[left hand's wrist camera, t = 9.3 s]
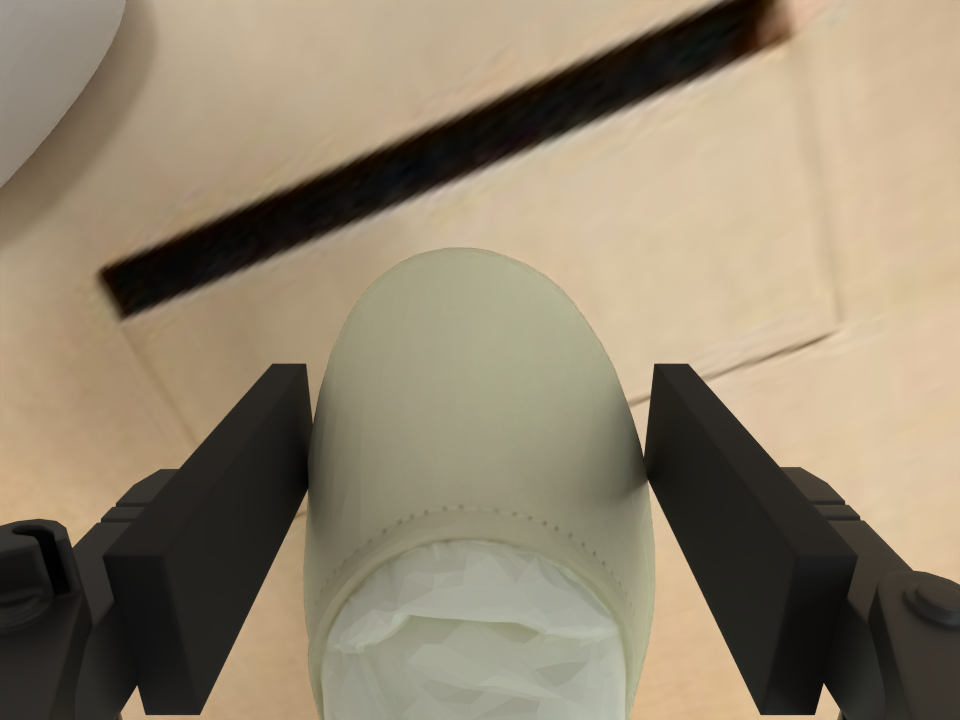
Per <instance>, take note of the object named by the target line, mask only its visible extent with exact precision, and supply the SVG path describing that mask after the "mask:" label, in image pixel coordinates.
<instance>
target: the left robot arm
mask: <svg viewBox="0 0 960 720" xmlns="http://www.w3.org/2000/svg"><path fill="white" fill-rule="evenodd" d="M312 428H313V422H312V413H311V404H310V395H309V386H308V377H307V368H306V364H272V365H271V366H270V367H269V368H268V369H267V371H266V372H265V373H264V374H263V375H262V376H261V377H260V378H259V380H258V381H257V382H256V383H255V384H254V385H253V386H252V387H251V389H250V390H249V391H248V392H247V393H246V394H245V395H244V396H243V398H242V399H241V400H240V401H239V402H238V403H237V404H236V405H235V407H234V408H233V409H232V410H231V411H230V412H229V413H228V414H227V416H226V417H225V418H224V419H223V420H222V421H221V422H220V423H219V425H218V426H217V427H216V428H215V429H214V430H213V431H212V433H211V434H210V435H209V436H208V437H207V438H206V439H205V440H204V442H203V443H202V444H201V445H200V446H199V447H198V448H197V449H196V451H195V452H194V453H193V454H192V455H191V456H190V457H189V458H188V460H187V461H186V462H185V463H184V464H183V465H182V466H181V467H180V469H160V470H158V471H157V472H155V473H153V474H152V475H150V476H148V477H147V478H145V479H143V480H141V481H140V482H138V483H136V484H135V485H133V486H132V487H131V488H130V489H129V490H128V492H127V493H126V494H125V495H124V496H123V497H122V498H121V499H120V500H119V501H118V502H117V503H116V507H112V508H111V509H110V510H109V511H108V512H107V513H106V514H105V515H104V516H103V517H102V518H101V522H100V523H96V524H95V525H94V526H93V527H92V528H91V529H90V530H89V532H88V533H87V534H86V535H85V536H84V537H83V538H82V539H81V540H80V541H79V542H78V543H77V544H76V545H75V546H74V547H73V548H72V546H71V543H70V539H69V536H68V533H67V529H66V527H64V526H63V525H61V524H60V523H58V522H57V521H52V520H44V519H34V520H25V521H16V522H13V523H9V524H6V525H2V526H0V720H123V719H122V716H121V713H120V712H121V711H122V709H123V707H124V706H125V704H126V703H127V701H128V699H129V698H130V696H131V694H132V693H133V691H134V690H135V688H136V686H137V685H138V689H139V692H140V696H141V700H142V703H143V707H144V711H145V714H146V715H200V713H201V711H202V709H203V707H204V705H205V703H206V701H207V699H208V697H209V695H210V693H211V690H212V688H213V686H214V684H215V682H216V680H217V678H218V676H219V674H220V672H221V670H222V668H223V665H224V663H225V661H226V659H227V657H228V655H229V653H230V651H231V649H232V647H233V645H234V642H235V640H236V638H237V636H238V634H239V632H240V630H241V628H242V626H243V624H244V622H245V619H246V617H247V615H248V613H249V611H250V609H251V607H252V605H253V603H254V601H255V599H256V596H257V594H258V592H259V590H260V588H261V586H262V584H263V582H264V580H265V578H266V576H267V574H268V571H269V569H270V567H271V565H272V563H273V561H274V559H275V557H276V555H277V553H278V551H279V548H280V546H281V544H282V542H283V540H284V538H285V536H286V534H287V532H288V530H289V528H290V525H291V523H292V521H293V519H294V517H295V515H296V513H297V511H298V509H299V507H300V505H301V502H302V500H303V498H304V496H305V494H306V492H307V490H308V455H309V448H310V441H311V434H312ZM644 461H645V466H646V470H647V479H648V481H649V483H650V485H651V487H652V489H653V491H654V493H655V495H656V497H657V499H658V502H659V504H660V506H661V508H662V510H663V512H664V514H665V516H666V518H667V520H668V522H669V525H670V527H671V529H672V531H673V533H674V535H675V537H676V539H677V541H678V543H679V545H680V548H681V550H682V552H683V554H684V556H685V558H686V560H687V562H688V564H689V566H690V568H691V570H692V573H693V575H694V577H695V579H696V581H697V583H698V585H699V587H700V589H701V591H702V593H703V596H704V598H705V600H706V602H707V604H708V606H709V608H710V610H711V612H712V614H713V616H714V619H715V621H716V623H717V625H718V627H719V629H720V631H721V633H722V635H723V637H724V639H725V641H726V644H727V646H728V648H729V650H730V652H731V654H732V656H733V658H734V660H735V662H736V664H737V667H738V669H739V671H740V673H741V675H742V677H743V679H744V681H745V683H746V685H747V687H748V690H749V692H750V694H751V696H752V698H753V700H754V702H755V704H756V706H757V708H758V710H759V712H760V715H815V713H816V709H817V705H818V702H819V698H820V694H821V691H822V687H823V683H824V684H825V686H826V687H827V689H828V690H829V692H830V694H831V695H832V697H833V698H834V700H835V702H836V703H837V705H838V707H839V708H840V713H839V716H838V719H837V720H960V585H959V584H957V583H955V582H953V581H951V580H949V579H946V578H943V577H939V576H936V575H933V574H930V573H927V572H920V571H913V570H912V569H911V568H910V567H909V566H908V565H907V564H906V563H905V562H904V561H903V560H902V559H901V558H900V557H899V556H898V555H897V554H896V553H895V552H894V551H893V550H892V548H891V547H890V546H889V545H888V544H887V543H886V542H885V541H884V540H883V539H882V538H881V537H880V536H879V535H878V534H877V533H876V532H875V531H874V530H873V529H872V528H871V527H870V526H869V525H868V524H867V523H866V522H865V521H861V520H860V516H859V515H858V514H857V513H856V512H855V511H854V510H853V509H852V508H851V507H850V506H849V505H845V501H844V500H843V499H842V498H841V497H840V496H839V495H838V494H837V492H836V491H835V490H834V489H833V488H832V487H831V486H830V485H829V484H828V483H826V482H825V481H823V480H821V479H820V478H818V477H816V476H814V475H813V474H811V473H809V472H808V471H806V470H804V469H802V468H801V467H779V466H778V465H777V463H776V462H775V461H774V460H773V459H772V458H771V457H770V456H769V454H768V453H767V452H766V451H765V450H764V449H763V448H762V447H761V445H760V444H759V443H758V442H757V441H756V440H755V439H754V438H753V436H752V435H751V434H750V433H749V432H748V431H747V430H746V429H745V427H744V426H743V425H742V424H741V423H740V422H739V421H738V420H737V418H736V417H735V416H734V415H733V414H732V413H731V412H730V411H729V409H728V408H727V407H726V406H725V405H724V404H723V403H722V402H721V400H720V399H719V398H718V397H717V396H716V395H715V394H714V393H713V391H712V390H711V389H710V388H709V387H708V386H707V385H706V384H705V382H704V381H703V380H702V379H701V378H700V377H699V376H698V374H697V373H696V372H695V371H694V370H693V369H692V368H691V367H690V365H689V364H654V372H653V381H652V390H651V399H650V408H649V417H648V426H647V435H646V444H645V453H644Z"/></svg>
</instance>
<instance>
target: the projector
mask: <svg viewBox="0 0 960 720" xmlns="http://www.w3.org/2000/svg"><path fill="white" fill-rule="evenodd" d="M125 5H126V0H0V188H1V187H2V186H3V185H4V184H5V183H6V182H7V181H8V180H9V179H10V178H11V177H12V176H13V175H14V173H15V172H16V171H17V170H18V169H19V168H20V167H21V166H22V165H23V164H24V163H25V162H26V160H27V159H28V158H29V157H30V156H31V155H32V154H33V153H34V152H35V150H36V149H37V148H38V147H39V146H40V144H41V143H42V142H43V141H44V140H45V138H46V137H47V136H48V135H49V134H50V132H51V131H52V130H53V129H54V128H55V126H56V125H57V124H58V123H59V121H60V120H61V119H62V117H63V116H64V115H65V113H66V112H67V111H68V109H69V108H70V107H71V105H72V104H73V103H74V102H75V100H76V99H77V98H78V96H79V95H80V94H81V92H82V91H83V89H84V88H85V86H86V85H87V83H88V82H89V80H90V79H91V77H92V76H93V74H94V73H95V71H96V70H97V68H98V67H99V65H100V63H101V61H102V60H103V58H104V56H105V54H106V53H107V51H108V49H109V47H110V46H111V44H112V42H113V39H114V37H115V35H116V32H117V30H118V28H119V26H120V23H121V21H122V17H123V13H124V10H125Z"/></svg>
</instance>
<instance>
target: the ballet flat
mask: <svg viewBox="0 0 960 720" xmlns="http://www.w3.org/2000/svg"><path fill="white" fill-rule="evenodd" d="M654 600H655V543H654V533H653V524H652V515H651V505H650V496H649V488H648V479H647V470H646V466H645V461H644V457H643V453H642V448H641V444H640V441H639V437H638V434H637V431H636V427H635V424H634V421H633V417H632V414H631V412H630V409H629V406H628V403H627V401H626V398H625V395H624V393H623V390H622V387H621V384H620V382H619V379H618V376H617V373H616V371H615V368H614V366H613V364H612V362H611V360H610V358H609V356H608V355H607V353H606V351H605V349H604V347H603V345H602V343H601V342H600V340H599V339H598V337H597V336H596V334H595V333H594V331H593V329H592V328H591V326H590V325H589V323H588V322H587V320H586V319H585V317H584V316H583V315H582V313H581V312H580V310H579V309H578V308H577V306H576V305H575V304H574V302H573V301H572V300H571V299H570V298H569V296H568V295H567V294H566V293H565V292H564V291H563V290H562V289H561V288H560V287H559V286H558V285H557V284H555V283H554V282H553V281H552V280H550V279H549V278H548V277H547V276H545V275H544V274H542V273H541V272H539V271H537V270H536V269H534V268H532V267H530V266H529V265H527V264H524V263H522V262H519V261H517V260H515V259H512V258H510V257H507V256H505V255H501V254H498V253H495V252H492V251H489V250H483V249H476V248H445V249H439V250H434V251H429V252H425V253H421V254H418V255H415V256H413V257H411V258H409V259H407V260H405V261H403V262H401V263H399V264H398V265H396V266H395V267H393V268H392V269H390V270H388V271H387V272H385V273H384V274H383V275H381V276H380V277H379V278H378V279H377V280H376V281H375V282H374V283H373V284H372V285H371V286H370V287H369V288H368V289H367V290H366V291H365V292H364V293H363V295H362V296H361V297H360V299H359V300H358V302H357V303H356V305H355V306H354V308H353V309H352V311H351V312H350V314H349V316H348V318H347V320H346V322H345V324H344V326H343V328H342V330H341V332H340V335H339V337H338V339H337V341H336V343H335V345H334V348H333V350H332V352H331V355H330V358H329V362H328V365H327V369H326V372H325V375H324V379H323V382H322V386H321V389H320V393H319V397H318V402H317V407H316V412H315V417H314V422H313V428H312V434H311V441H310V448H309V455H308V506H307V524H306V540H305V556H304V607H305V618H306V626H307V632H308V637H309V648H308V664H309V675H310V680H311V685H312V690H313V695H314V699H315V703H316V707H317V710H318V714H319V718H320V720H630V715H631V709H632V706H633V702H634V699H635V695H636V691H637V688H638V684H639V680H640V676H641V672H642V668H643V664H644V660H645V655H646V651H647V647H648V643H649V637H650V631H651V625H652V619H653V612H654Z"/></svg>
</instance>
